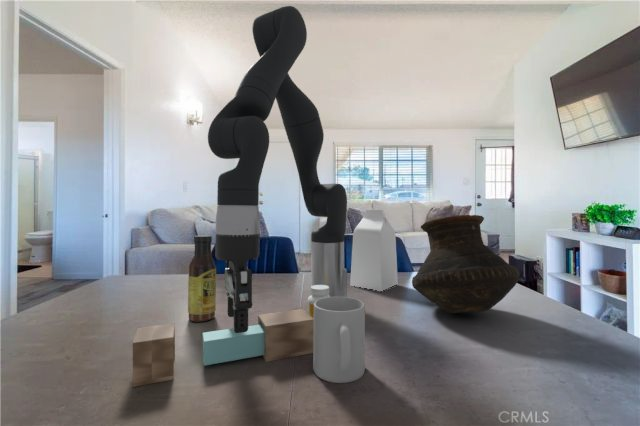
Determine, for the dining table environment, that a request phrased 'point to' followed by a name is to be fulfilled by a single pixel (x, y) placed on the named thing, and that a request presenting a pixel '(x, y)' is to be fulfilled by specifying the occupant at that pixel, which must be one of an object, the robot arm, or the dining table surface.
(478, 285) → the ceramic pot
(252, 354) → the long turquoise beam
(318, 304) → the mug
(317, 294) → the supplement bottle
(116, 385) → the dining table surface
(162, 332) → the socket
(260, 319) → the wooden block
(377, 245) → the milk
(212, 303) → the sauce bottle
